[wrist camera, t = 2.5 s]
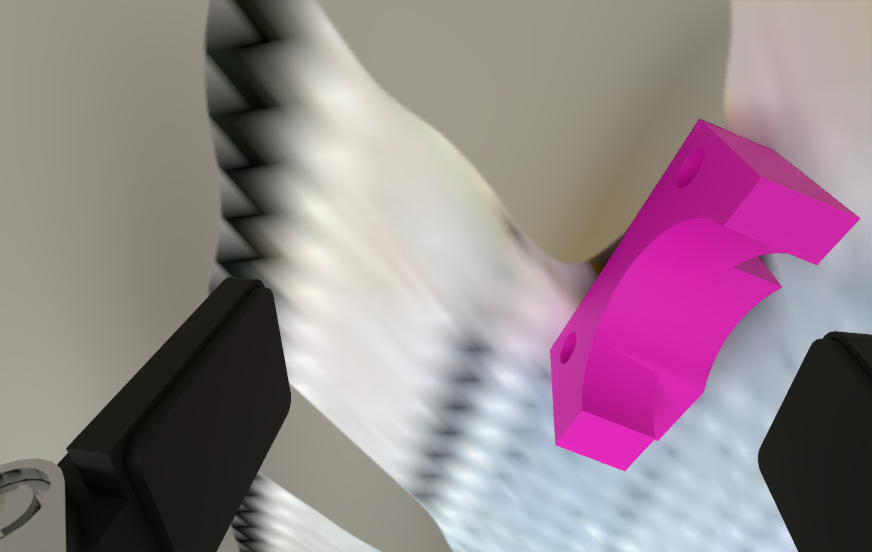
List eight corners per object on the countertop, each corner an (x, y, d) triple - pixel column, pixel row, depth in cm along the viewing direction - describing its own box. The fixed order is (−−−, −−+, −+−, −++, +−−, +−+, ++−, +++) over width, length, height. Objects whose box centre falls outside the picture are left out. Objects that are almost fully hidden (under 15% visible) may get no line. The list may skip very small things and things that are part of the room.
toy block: (642, 383, 32) (670, 488, 26) (549, 347, 32) (555, 445, 25) (820, 169, 24) (924, 245, 18) (699, 118, 24) (761, 177, 17)
